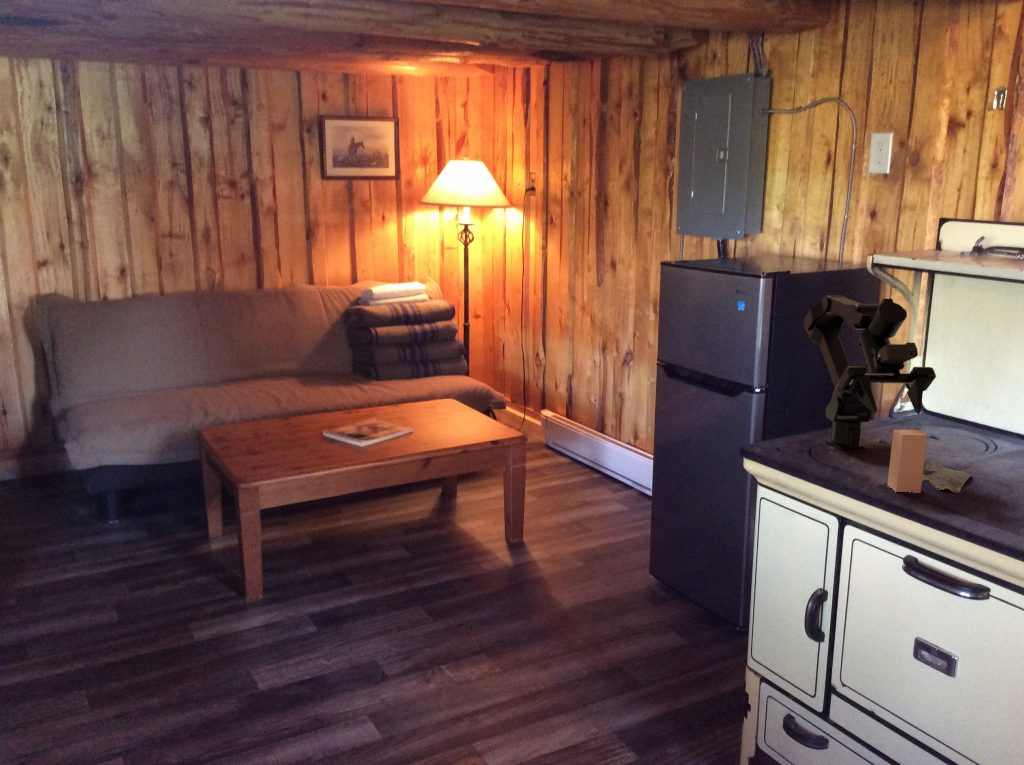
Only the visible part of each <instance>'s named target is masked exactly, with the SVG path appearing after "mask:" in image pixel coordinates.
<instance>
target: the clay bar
mask: <svg viewBox="0 0 1024 765" xmlns="http://www.w3.org/2000/svg"><path fill="white" fill-rule="evenodd" d="M892 432H893V434H892V442H891V450H890V460H889V469H888V477H887V485H888V486H889V487H890V488H892V489H893V490H894V491H895V492H894V491H893V490H892V489H891V490H892V491H893V492H894V493H896V492H909V493H908V494H917V493H918V494H921V493H922V492H921V491H922V485H923V480H922V477H923V474H924V467H925V459H926V452H927V444H928V443H927V442H928V434H926V433H925V432H923V431H921V430H919V429H893V431H892ZM888 486H887V487H888ZM889 487H888V488H889ZM890 488H889V489H890ZM911 492H913V493H911Z"/></svg>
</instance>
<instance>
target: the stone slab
mask: <svg viewBox="0 0 1024 765" xmlns="http://www.w3.org/2000/svg"><path fill="white" fill-rule="evenodd" d="M923 471H929V472H931V473H929V474H926V473H923V477H922V482H923V481H928V480H929V481H928V482H929V484H930V485H932V486H933V487H934V486H935V488H936V489H937V488H939V489H937V491H940V490H943V491H944V490H946V489H948V490H949V491H951V492H952V493H953V494H955V493H956V492H955V491H956V490H958V492H957V493H958V494H959V493H960V492H961V490H962V488H963V487H964V485H965V483H966V482H967V481H968V479H969V478H970V477H972V476H973V475H972V473H969V472H966V471H965V470H963V471H962V470H955V469H952V468H947V467H944V466H943V465H942V464H941V463H939V462H938V461H936V460H932V461H931V460H929V461H927V462H926V463H925V464H924V469H923ZM935 488H934V489H935ZM957 493H956V494H957Z"/></svg>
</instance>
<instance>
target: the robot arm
mask: <svg viewBox="0 0 1024 765" xmlns="http://www.w3.org/2000/svg"><path fill="white" fill-rule="evenodd" d="M907 317H908V314H907V310H906V309H905V308H904V307H903V306H901V305H900V304H899V303H896V302H894V299H893V298H882V300H881V302H880V303H860V302H858V301H855V300H853V299H850V298H847V297H846V296H844V295H838V294H837V295H834V294H833V295H826V296H823V297H822V299H821V301H820V302H819V303H817V304H816V305H814V306H813V307H811V308H810V309H809V310H808V312H807V314H806V315H805V317H804V320H803V327H804V330H805V331H806V334H807V335H808V337H809V339H810V340H811V341H812V342H814V343H816V345H819V348H820V350H821V353H822V356H823V359H824V362H825V365H826V367H827V370H828V373H829V376H830V378H831V381H832V384H833V387H834V390H833V393H832V396H831V399H830V402H828V404H827V406H826V407H825V418H827V419H828V420H829V421H831V423H832V424H831V425H832V426H831V435H830V439H825V441H824V442H825V443H826V444H829V445H831V446H833V447H836V448H837V449H839V450H850V449H860V448H861V449H862V448H865V444H862V443H861V434H862V429H861V427H862V422H863V423H870V422H869V421H870V419H871V414H872V413H873V414H876V413H878V407H877V403H876V401H875V398H874V395H873V392H872V389H871V383H879V384H904V386H905V388H906V389H907V390H908V391H907V392H906V393H907V396H908V399H909V401H910V403H911V405H912V407H913V410H914V411H915V413H916V414H920V413H921V411H922V404H923V402H922V401H923V393H924V392H925V391H927V390H928V389H929V387H930V385H931V384H932V383H933V382H934V380H935V379H936V378H937V375H936V371H935V370H934V368H933V367H932V366H931V367H930V366H913V368H912V369H911V371H910V372H909V373H901V372H900V370H903V369H904V368H905V363H906V362H908V361H911V360H913V359H915V358H917V357H918V355H919V354H918V348H917V345H916V343H915V342H906V343H903V344H901V343H899V344H898V343H895V344H894V343H891V340H890V339H892V338H893V337H895V336H896V334H897V333H898V332H899V330H900V328H902V325H903V323H904V322H905V320H906V318H907ZM845 323H846V324H847V325H848V327H850V328H851V330H853V331H854V330H859V331H860V330H861V331H862V332H860V334H859V336H858V337H859V339H858V341H857V347H858V348H862V351H863V355H864V357H865V360H864V363H863V365H864V366H861V365H860V366H855V365H854V366H853V365H852V366H850V365H851V364H850V362H849V359H848V357H847V354H846V352H845V348H844V346H843V345H842V344H843V343H842V341H841V339H840V334H841V332H842V329H843V326H844V324H845ZM867 369H868V370H867ZM868 371H869V372H868Z"/></svg>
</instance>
